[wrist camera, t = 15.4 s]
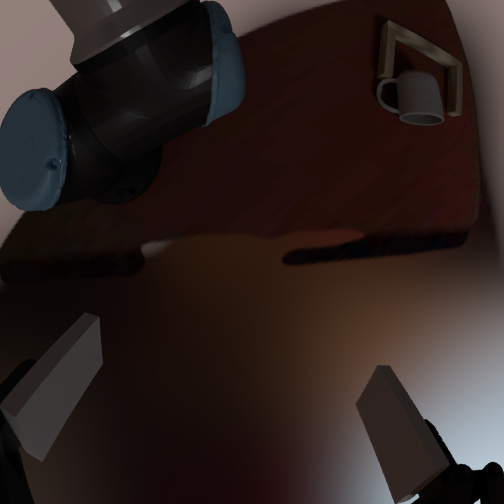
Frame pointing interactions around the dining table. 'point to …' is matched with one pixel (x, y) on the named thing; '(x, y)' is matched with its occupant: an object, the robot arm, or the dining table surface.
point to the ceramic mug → (415, 98)
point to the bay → (411, 39)
